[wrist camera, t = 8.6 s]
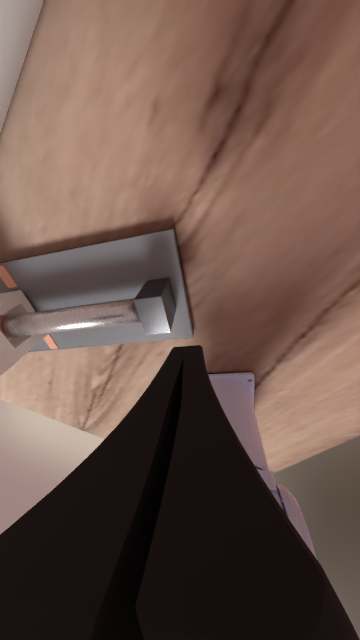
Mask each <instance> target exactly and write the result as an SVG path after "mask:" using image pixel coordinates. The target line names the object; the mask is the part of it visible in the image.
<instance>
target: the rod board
mask: <svg viewBox="0 0 360 640" xmlns="http://www.w3.org/2000/svg"><path fill="white" fill-rule="evenodd" d="M18 290H21V291H22V292H23V294H24V295H25V297H26V298H27V300H28V301H29V303H30V304H31V306H32V307H33V309H34V310H35V312H28V313H21V314H6V313H3V314H1V315H0V331H1V332H2V333H3V335H4V336H5V337H6V338H7V340H8V339H10V338H16V337H18V336H26V335H35V334H44V333H49V334H48V335H47V336H46V337H45V338H43V339H42V340H41V341H40V342H39V343H38V344H37V345H35V346H34V347H33V348H32V349H31V350H30V351H28V352H36V351H47V350H59V349H70V348H81V347H92V346H104V345H115V344H126V343H137V342H149V341H160V340H171V339H182V338H193V328H192V323H191V318H190V312H189V307H188V301H187V296H186V291H185V285H184V280H183V275H182V269H181V264H180V258H179V253H178V248H177V242H176V237H175V232H174V228H173V229H168V230H163V231H158V232H153V233H147V234H142V235H137V236H132V237H127V238H122V239H117V240H112V241H107V242H102V243H97V244H92V245H87V246H82V247H77V248H72V249H67V250H62V251H57V252H52V253H47V254H42V255H37V256H32V257H27V258H22V259H17V260H12V261H7V262H2V263H0V293H5V292H12V291H18Z"/></svg>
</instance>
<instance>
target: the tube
mask: <svg viewBox="0 0 360 640" xmlns="http://www.w3.org/2000/svg"><path fill="white" fill-rule="evenodd" d="M43 2H44V0H0V133H1V130H2V127H3V124H4V121H5V118H6V115H7V112H8V109H9V106H10V103H11V100H12V96H13V93H14V90H15V87H16V84H17V81H18V78H19V75H20V72H21V69H22V66H23V63H24V60H25V57H26V54H27V51H28V48H29V44H30V41H31V38H32V35H33V32H34V29H35V26H36V23H37V20H38V17H39V14H40V11H41V8H42V5H43Z"/></svg>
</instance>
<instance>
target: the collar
mask: <svg viewBox="0 0 360 640" xmlns="http://www.w3.org/2000/svg"><path fill="white" fill-rule="evenodd" d="M28 312H35V310H34V309H33V307H32V306H31V304H30V303H29V301H28V300H27V298H26V297H25V295H24V294H23V292H22V291H21V290H18V291H12V292H5V293H0V315H1V314H3V313H6V314H21V313H28ZM48 334H49V333H44V334H35V335H26V336H18V337H16V338H10V339H8V340H7V338H6V337H5V336H4V335H3V333H2V332H1V331H0V376H1V375H2V374H3V373H4V372H6V371H7V370H8V369H9V368H10V367H11V366H12V365H14V364H15V363H16V362H17V361H18V360H19V359H20V358H22V357H23V356H24V355H25V354H26V353H27V352H28V351H30V350H31V349H32V348H33V347H34V346H35V345H37V344H38V343H39V342H40V341H41V340H42V339H43V338H45V337H46V336H47V335H48Z"/></svg>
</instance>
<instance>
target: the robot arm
mask: <svg viewBox="0 0 360 640" xmlns="http://www.w3.org/2000/svg"><path fill="white" fill-rule="evenodd" d="M249 379H250V380H249ZM0 640H359V637H358V635H357V633H356V631H355V629H354V627H353V625H352V623H351V621H350V619H349V617H348V615H347V613H346V612H345V610H344V608H343V606H342V604H341V602H340V600H339V598H338V597H337V595H336V593H335V591H334V589H333V587H332V585H331V584H330V581H329V580H328V578H327V576H326V574H325V572H324V570H323V568H322V567H321V565H320V564H319V562H318V561H317V558H316V555H315V551H314V548H313V545H312V541H311V538H310V535H309V532H308V529H307V526H306V523H305V520H304V517H303V515H302V513H301V510H300V507H299V506H298V503H297V501H296V499H295V497H294V496H293V495H292V494H291V493H290V492H289V491H288V490H287V489H286V488H285V487H284V486H283V485H277V486H276V485H275V481H274V477H273V472H272V471H269V469H268V465H267V461H266V457H265V453H264V449H263V445H262V441H261V437H260V432H259V428H258V424H257V420H256V416H255V412H254V374H253V373H251V372H246V373H227V374H208V373H207V370H206V367H205V361H204V355H203V349H202V347H201V346H200V345H196V346H184V347H174V348H173V349H172V350H171V352H170V354H169V355H168V357H167V359H166V360H165V362H164V364H163V365H162V367H161V368H160V370H159V372H158V373H157V375H156V376H155V378H154V379H153V381H152V382H151V384H150V385H149V387H148V388H147V389H146V391H145V392H144V393H143V395H142V396H141V397H140V399H139V400H138V401H137V403H136V404H135V405H134V407H133V408H132V409H131V410H130V412H129V413H128V414H127V415H126V416H125V418H124V419H123V420H122V421H121V422H120V423H119V425H118V426H117V427H116V428H115V429H114V430H113V431H112V432H111V433H110V434H109V435H108V437H107V438H106V439H105V440H104V441H103V442H102V443H101V444H100V445H99V446H98V447H97V448H96V449H95V450H94V451H93V452H92V453H91V454H90V455H89V456H88V457H87V458H86V459H85V460H84V461H83V462H82V463H81V464H80V465H79V466H78V467H77V468H76V469H75V470H74V471H73V472H71V473H70V474H69V475H68V476H67V477H66V478H65V479H64V480H63V481H62V482H61V483H60V484H59V485H58V486H56V487H55V488H54V489H53V490H52V491H51V492H50V493H49V494H47V495H46V496H45V497H44V498H43V499H42V500H40V501H39V502H38V503H37V504H36V505H35V506H34V507H32V508H31V509H30V510H29V511H28V512H27V513H25V514H24V515H23V516H22V517H21V518H19V519H18V520H17V521H16V522H15V523H14V524H13V525H11V526H10V527H9V528H8V529H7V530H5V531H4V532H3V533H2V534H1V535H0Z"/></svg>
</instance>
